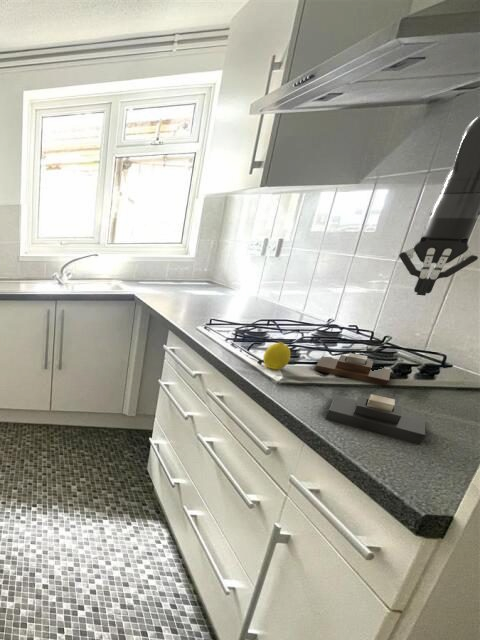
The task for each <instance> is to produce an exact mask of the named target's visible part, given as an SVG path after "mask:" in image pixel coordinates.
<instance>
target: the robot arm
mask: <svg viewBox="0 0 480 640" xmlns="http://www.w3.org/2000/svg"><path fill="white" fill-rule="evenodd" d="M460 140H461V142H460V144H459V146H458V150H457V153H456V156H455V158H454V161H453V164H452V166H451V168H450V169H449V170H448V173H447V174H446V176H445V179H444V181H443V183H442V186H441V188H440V191H439V194H438V196H437V198H436V199H435V200H434V203H433V205H432V207H431V210H430V212H429V214H428V217H427V220H426V223H425V225H424V227H423V230H422V233H421V235H420V238H419V240H418V241H417V242H416V243H415V244H414V245H413V247H412V248H410V249H408V250H405V251H401V252H399V253H398V257H399V258H400V260H401V262H402V263H403V265H404V267H405V268H406V270H407V271H408V273H409V275H410V276H414V277H417V278H418V279H417V281H416V284H415V285H414V289H413V291H414V293H416V296H423V297H424V296H426V295H427V294H430V293H432V291H433V288H434V286H435V284H436V281H438V280H439V279H444V278H449V277H451V276H452V275H454V274H456V273H458V272H459V271H461V270H462V269H464V268H466V267H468V266H469V265H471V264H472V263H474V262H476V261H477V260H478V259H479V257H478V255H476V254H474V253H472V252H470V251H469V248H470V246H469V240H470V238H471V235H472V233H473V231H474V229H475V227H476V224H477V222H478V220H479V217H480V114H478V115H476V117H474V118H473V119H472V120H471V121H470V122H468V124H467V126H466V127H464V130H463V131H462V134H461V138H460ZM414 253H415V254H416V256H417V258H418V260H419V261H420V262H421V263H422V264H421V269H420V270H419V269H417V268H416V266H415V264H414V263H413V261H412V259H413V258H414ZM459 256H460V258H459V262H457V263H455V264H453V265H452V266H451V267H449V268H447V269H446V270H444V271H442V270H443V268H444V267H445V265H446V264H449V263H451V262H452V261H454V260H455V259H457V258H458V257H459ZM432 264H434V266H433V268H432V270H431V271H430V269H431V265H432ZM429 271H430V274H429ZM428 275H429V276H428Z"/></svg>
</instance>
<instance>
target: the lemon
mask: <svg viewBox="0 0 480 640" xmlns="http://www.w3.org/2000/svg"><path fill="white" fill-rule="evenodd" d="M290 359H291V349H290V347H289V346H288V345H286V344H285V343H284V342H282V341H280V342H276V343H273V344H271V345H269V346H268V347H267V349H266V350H265V352H264V354H263V363H264V366H265V367H267V368H268V369H271V370H281V369H283V368H285V367H286V366H287V365H288V363H289V362H290Z"/></svg>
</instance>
